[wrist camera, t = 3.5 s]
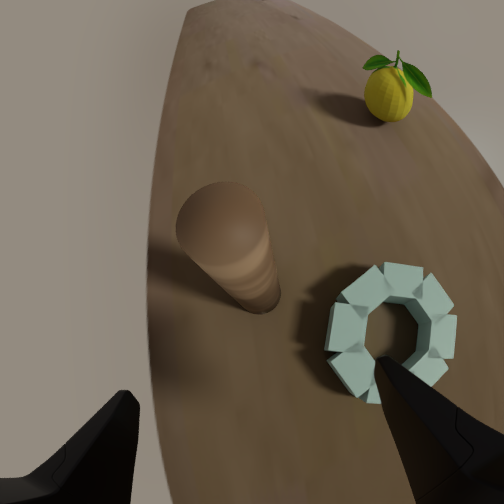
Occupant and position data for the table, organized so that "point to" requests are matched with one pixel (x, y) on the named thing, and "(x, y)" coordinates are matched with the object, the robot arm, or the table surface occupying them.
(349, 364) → the ring
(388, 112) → the lemon
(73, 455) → the robot arm
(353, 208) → the table surface
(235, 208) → the dowel
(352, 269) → the table surface
